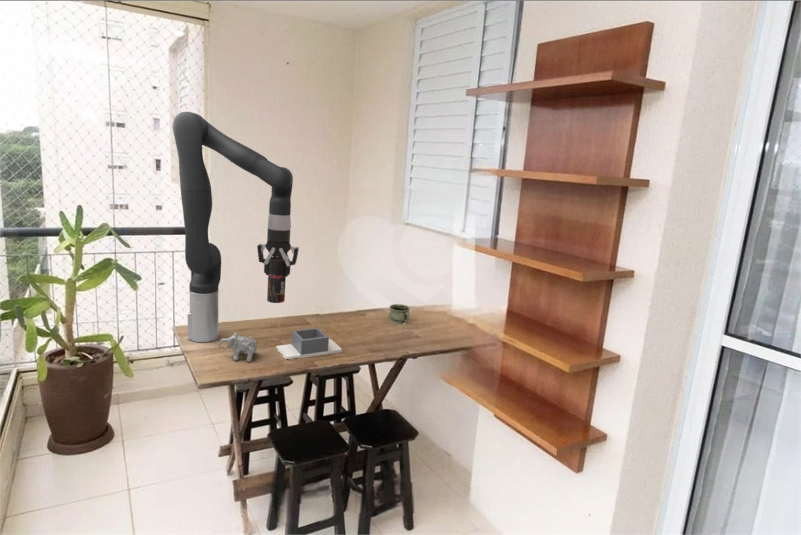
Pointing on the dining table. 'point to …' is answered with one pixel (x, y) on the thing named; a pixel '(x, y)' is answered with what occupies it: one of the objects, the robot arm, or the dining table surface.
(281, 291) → the deodorant
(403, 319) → the vessel
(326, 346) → the socket stand
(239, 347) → the gray elephant figurine
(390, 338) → the dining table surface
